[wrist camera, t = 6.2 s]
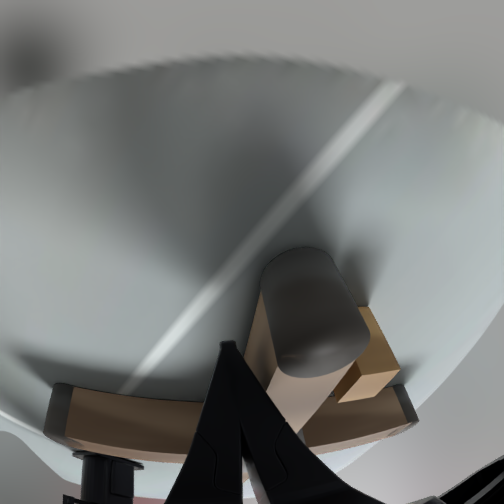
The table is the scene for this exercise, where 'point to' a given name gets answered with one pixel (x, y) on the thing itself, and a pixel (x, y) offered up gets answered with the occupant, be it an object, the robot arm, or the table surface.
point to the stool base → (187, 413)
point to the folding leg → (303, 332)
